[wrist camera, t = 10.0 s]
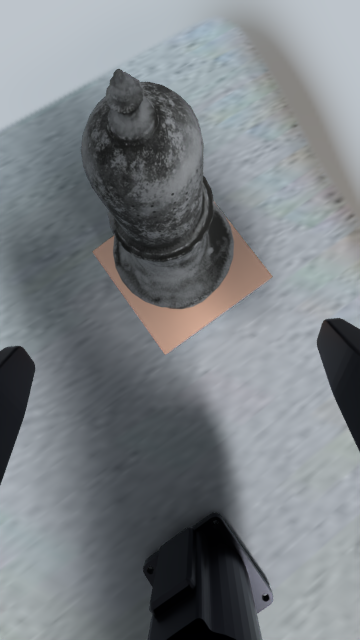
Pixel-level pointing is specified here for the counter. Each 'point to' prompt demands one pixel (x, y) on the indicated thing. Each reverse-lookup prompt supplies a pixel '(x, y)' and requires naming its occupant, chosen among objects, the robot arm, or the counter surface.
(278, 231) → the counter surface
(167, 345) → the peach and grey block
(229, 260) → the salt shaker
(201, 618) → the robot arm
